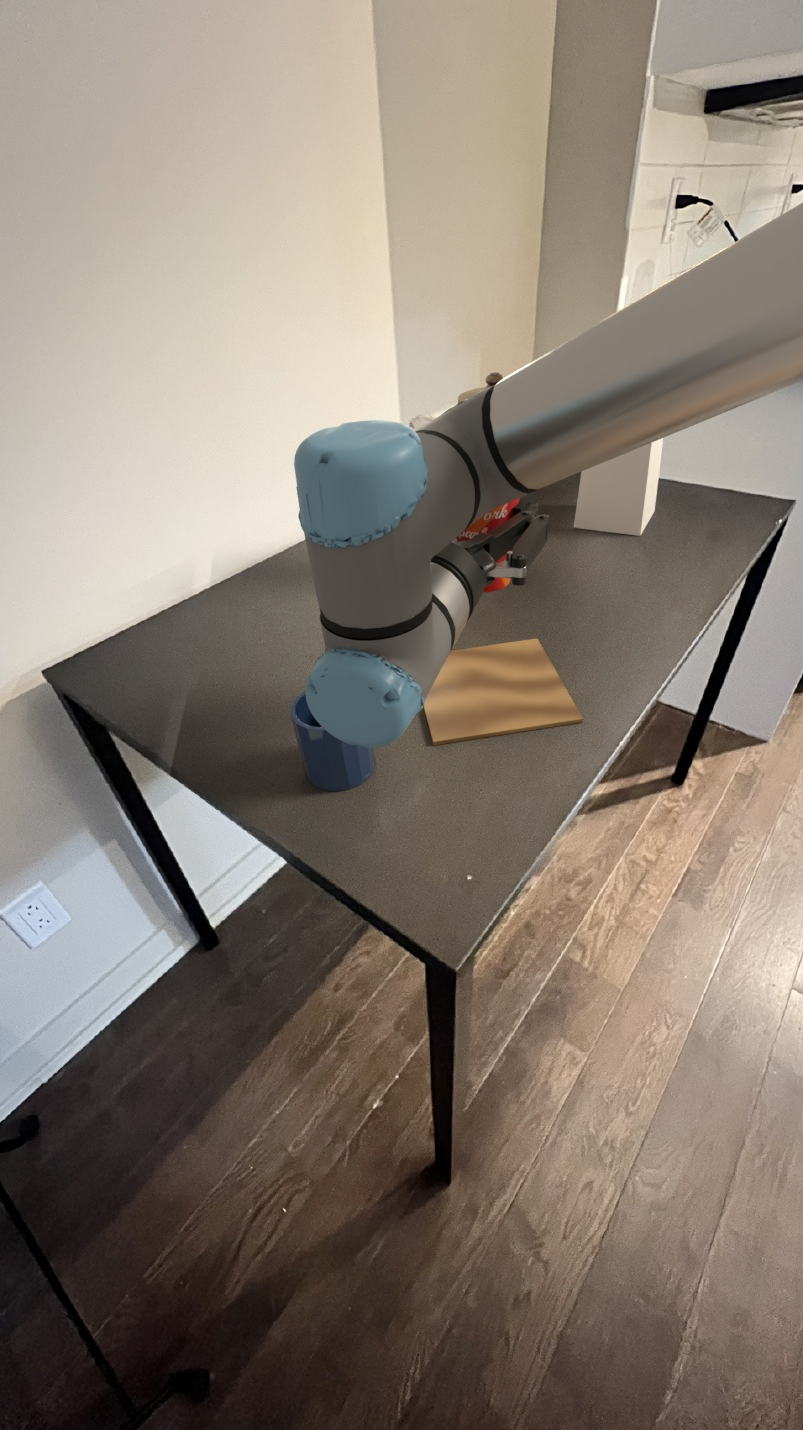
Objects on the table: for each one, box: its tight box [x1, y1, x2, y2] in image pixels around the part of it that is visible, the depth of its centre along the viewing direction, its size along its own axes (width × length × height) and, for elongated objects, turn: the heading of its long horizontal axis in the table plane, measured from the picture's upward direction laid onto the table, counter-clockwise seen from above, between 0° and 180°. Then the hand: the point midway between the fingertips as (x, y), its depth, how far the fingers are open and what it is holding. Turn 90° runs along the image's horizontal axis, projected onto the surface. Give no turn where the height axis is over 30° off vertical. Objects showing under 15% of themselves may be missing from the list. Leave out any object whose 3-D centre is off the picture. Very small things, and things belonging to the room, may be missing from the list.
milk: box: [573, 438, 664, 537], centre depth 109 cm, size 12×12×26 cm
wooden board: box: [422, 638, 584, 746], centre depth 80 cm, size 18×18×1 cm
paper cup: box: [456, 499, 519, 593], centre depth 64 cm, size 8×8×14 cm
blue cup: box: [290, 690, 376, 792], centre depth 69 cm, size 8×8×9 cm
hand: (497, 495), depth 67 cm, fingers closed on paper cup, 6 cm apart
